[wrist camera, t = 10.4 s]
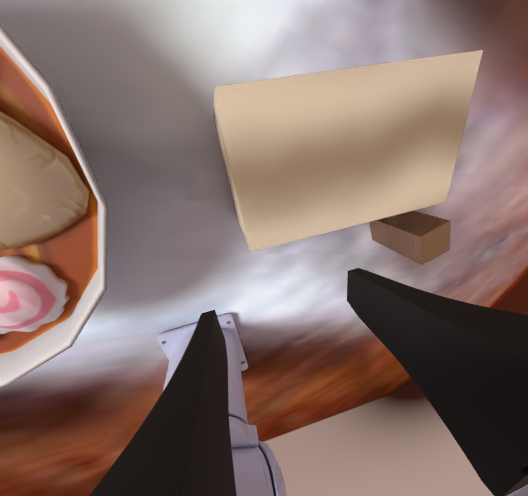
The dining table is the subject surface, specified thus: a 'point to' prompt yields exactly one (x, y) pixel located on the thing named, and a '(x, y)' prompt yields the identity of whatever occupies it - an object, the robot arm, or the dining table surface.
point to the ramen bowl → (43, 222)
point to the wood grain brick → (413, 235)
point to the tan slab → (342, 144)
